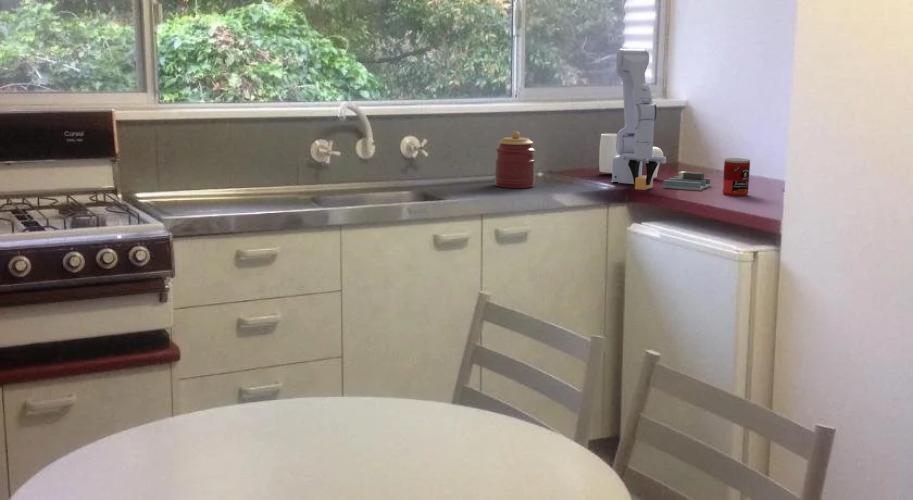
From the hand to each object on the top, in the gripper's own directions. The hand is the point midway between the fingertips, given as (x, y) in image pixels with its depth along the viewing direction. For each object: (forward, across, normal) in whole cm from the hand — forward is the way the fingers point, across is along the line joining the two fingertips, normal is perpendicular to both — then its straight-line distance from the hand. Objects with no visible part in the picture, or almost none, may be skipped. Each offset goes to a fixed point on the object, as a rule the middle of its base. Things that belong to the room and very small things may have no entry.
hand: (642, 184), depth 347 cm
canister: (+2, -37, -17) cm, 41 cm away
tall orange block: (+1, 0, +2) cm, 2 cm away
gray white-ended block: (+1, +12, +16) cm, 19 cm away
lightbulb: (+2, -5, +27) cm, 28 cm away
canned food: (+2, +29, +3) cm, 29 cm away
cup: (+2, -21, +29) cm, 36 cm away
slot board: (+1, +11, +13) cm, 17 cm away
